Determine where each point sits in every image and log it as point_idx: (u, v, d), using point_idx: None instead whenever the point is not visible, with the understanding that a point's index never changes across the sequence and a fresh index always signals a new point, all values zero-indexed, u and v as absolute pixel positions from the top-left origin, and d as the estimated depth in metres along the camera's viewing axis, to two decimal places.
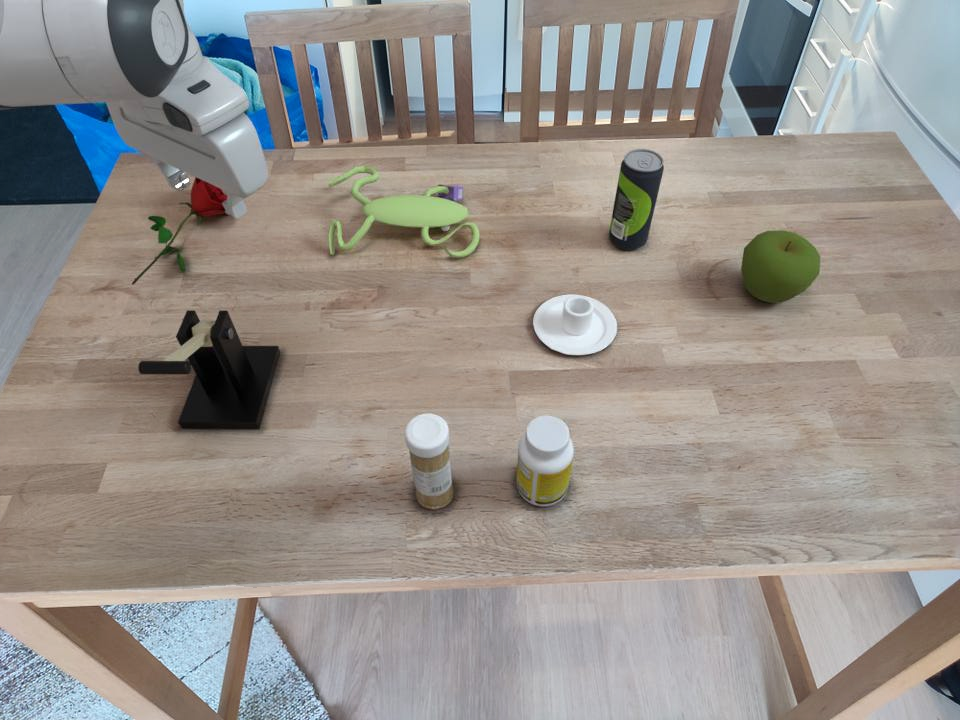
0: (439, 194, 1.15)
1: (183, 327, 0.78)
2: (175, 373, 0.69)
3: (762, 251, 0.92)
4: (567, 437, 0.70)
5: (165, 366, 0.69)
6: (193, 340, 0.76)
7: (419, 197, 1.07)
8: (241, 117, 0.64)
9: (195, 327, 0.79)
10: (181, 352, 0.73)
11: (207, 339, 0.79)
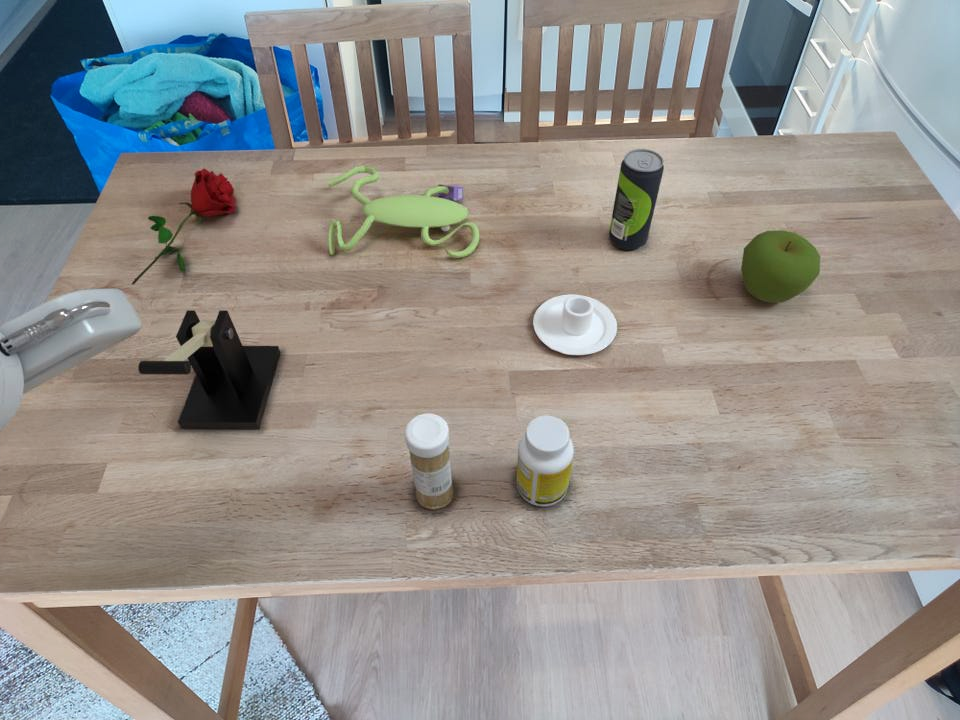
0: (439, 194, 1.15)
1: (183, 327, 0.78)
2: (175, 373, 0.69)
3: (762, 251, 0.92)
4: (567, 437, 0.70)
5: (165, 366, 0.69)
6: (193, 340, 0.76)
7: (419, 197, 1.07)
8: None
9: (195, 327, 0.79)
10: (181, 352, 0.73)
11: (207, 339, 0.79)
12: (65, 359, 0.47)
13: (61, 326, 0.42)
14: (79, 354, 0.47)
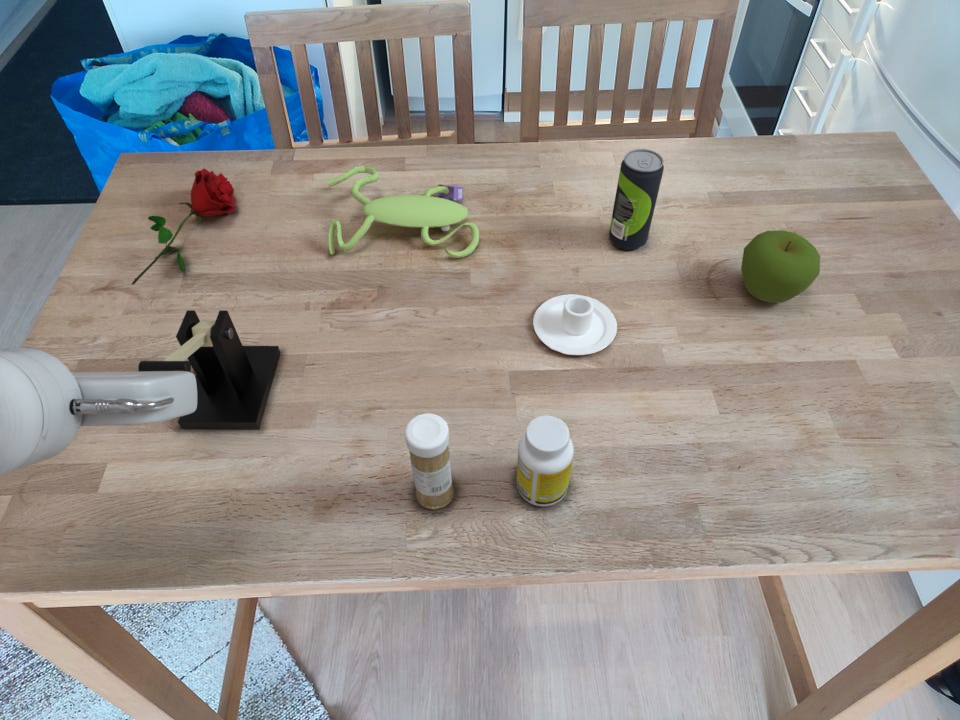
0: (439, 194, 1.15)
1: (183, 327, 0.78)
2: None
3: (762, 251, 0.92)
4: (567, 437, 0.70)
5: (165, 366, 0.69)
6: (193, 340, 0.76)
7: (419, 197, 1.07)
8: None
9: (195, 327, 0.79)
10: (181, 352, 0.73)
11: (207, 339, 0.79)
12: None
13: (124, 413, 0.49)
14: None
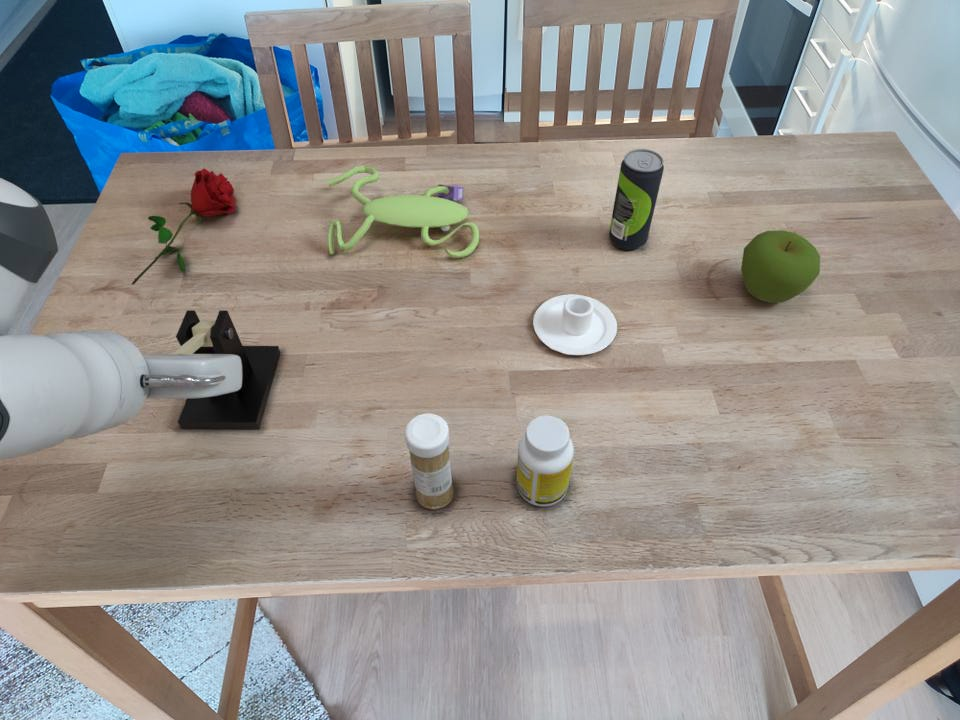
0: (439, 194, 1.15)
1: (183, 327, 0.78)
2: None
3: (762, 251, 0.92)
4: (567, 437, 0.70)
5: None
6: (193, 340, 0.76)
7: (419, 197, 1.07)
8: None
9: (195, 327, 0.79)
10: (181, 352, 0.73)
11: (207, 339, 0.79)
12: None
13: (185, 387, 0.57)
14: None
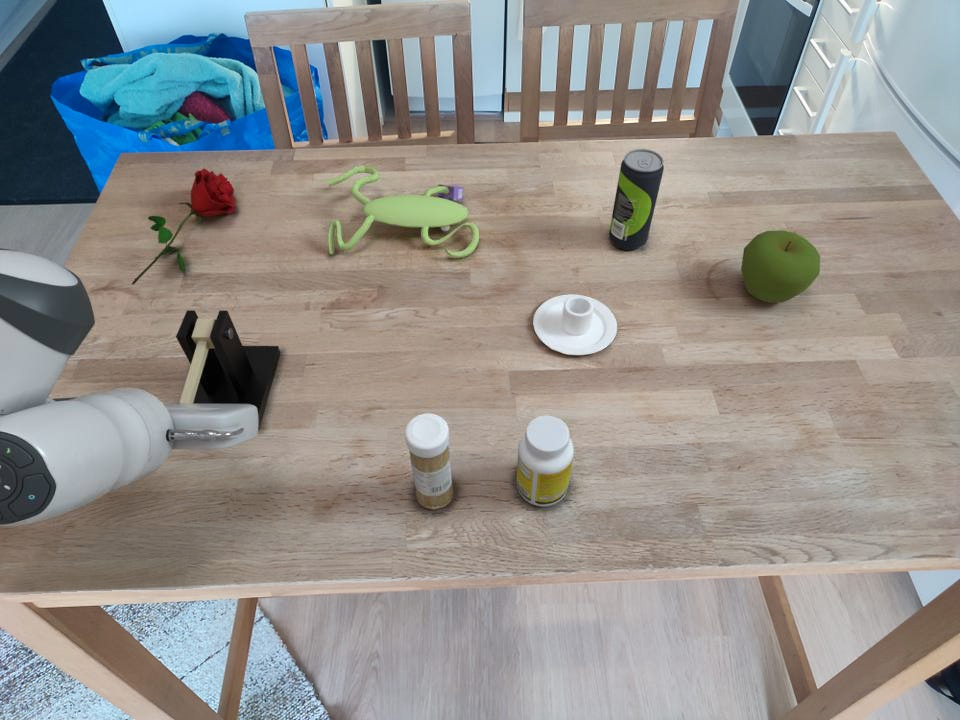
0: (439, 194, 1.15)
1: (183, 327, 0.78)
2: None
3: (762, 251, 0.92)
4: (567, 437, 0.70)
5: None
6: (198, 357, 0.78)
7: (419, 197, 1.07)
8: None
9: (195, 335, 0.78)
10: (192, 386, 0.75)
11: (209, 344, 0.79)
12: None
13: (208, 441, 0.62)
14: None
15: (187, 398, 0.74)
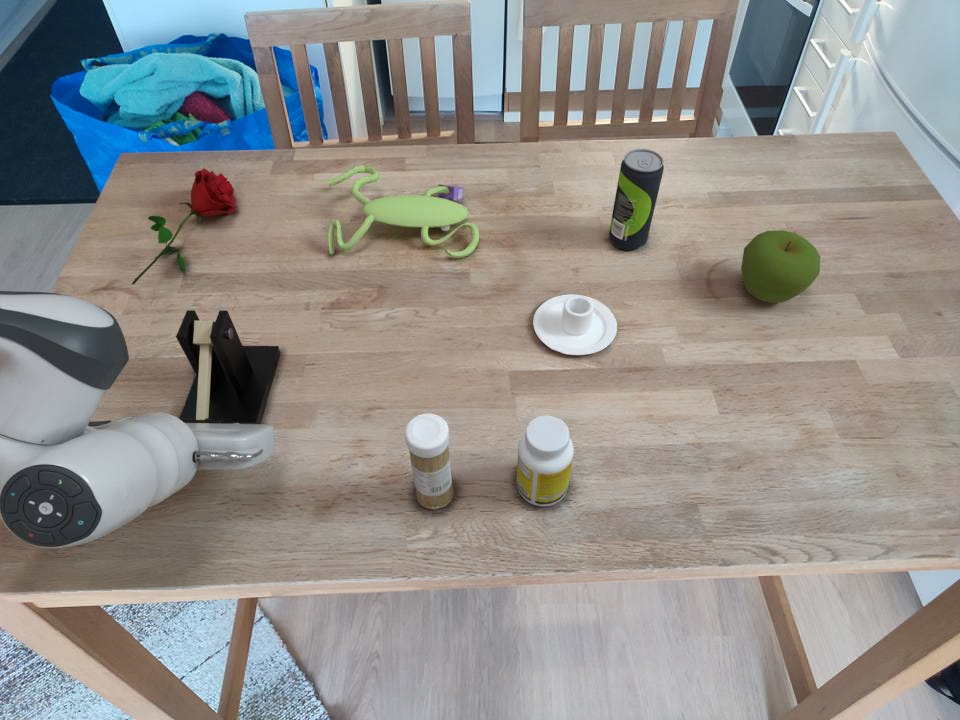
0: (439, 194, 1.15)
1: (183, 327, 0.78)
2: None
3: (762, 251, 0.92)
4: (567, 437, 0.70)
5: None
6: (204, 364, 0.79)
7: (419, 197, 1.07)
8: None
9: (196, 341, 0.79)
10: (204, 396, 0.79)
11: (212, 345, 0.80)
12: None
13: (231, 462, 0.67)
14: None
15: (202, 410, 0.78)
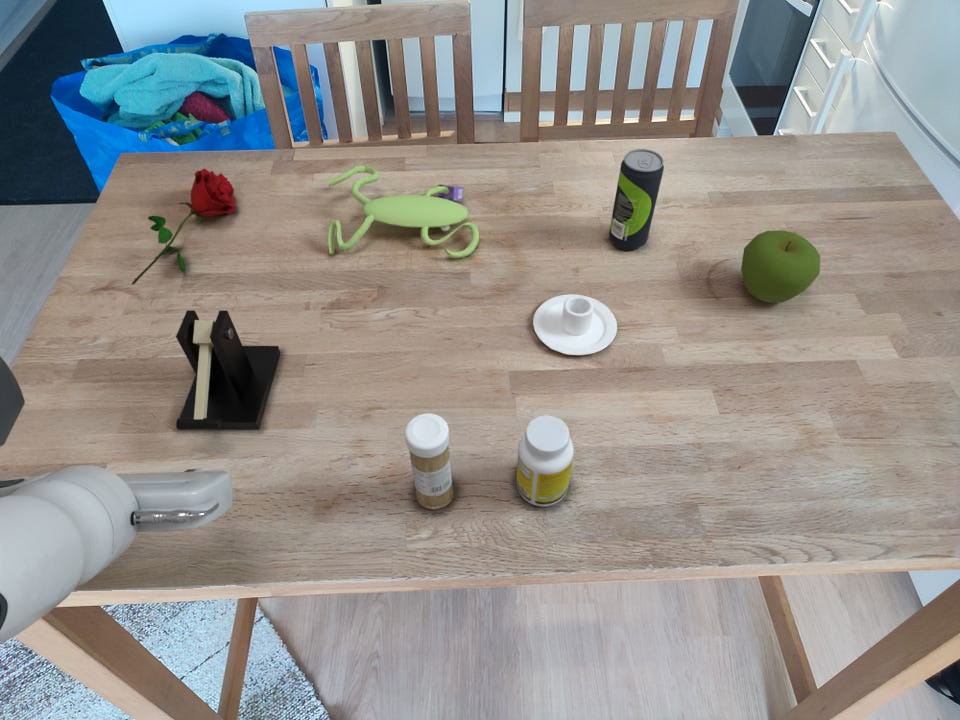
0: (439, 194, 1.15)
1: (183, 327, 0.78)
2: None
3: (762, 251, 0.92)
4: (567, 437, 0.70)
5: (201, 429, 0.78)
6: (203, 364, 0.79)
7: (419, 197, 1.07)
8: None
9: (196, 341, 0.79)
10: (203, 396, 0.78)
11: (211, 345, 0.80)
12: None
13: (179, 523, 0.55)
14: None
15: (201, 410, 0.78)
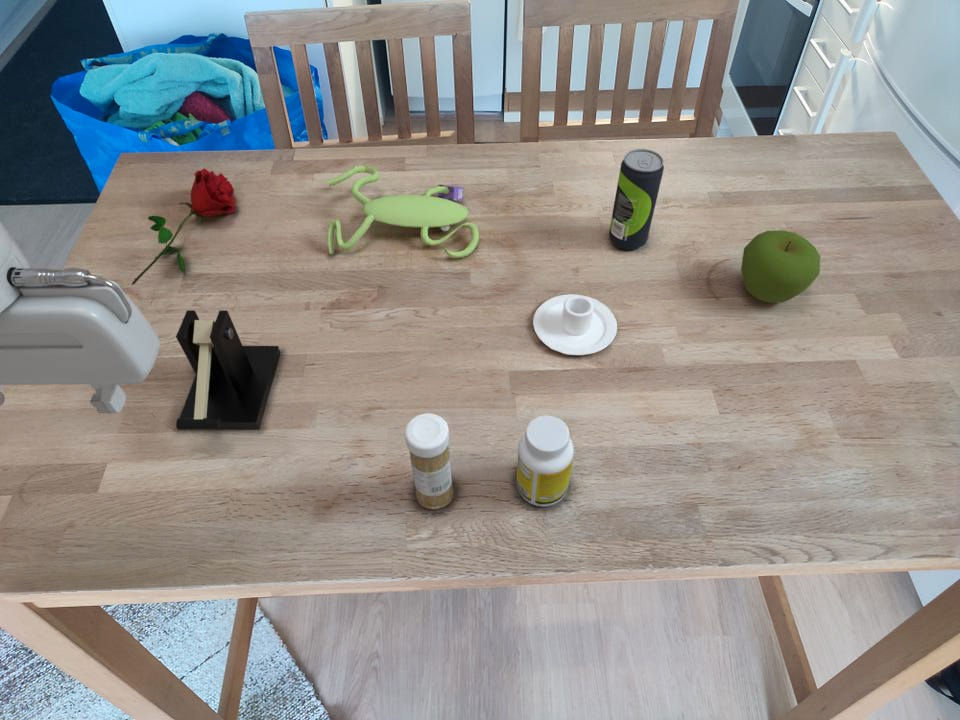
0: (439, 194, 1.15)
1: (183, 327, 0.78)
2: None
3: (762, 251, 0.92)
4: (567, 437, 0.70)
5: (201, 429, 0.78)
6: (203, 364, 0.79)
7: (419, 197, 1.07)
8: None
9: (196, 341, 0.79)
10: (203, 396, 0.78)
11: (211, 345, 0.80)
12: (54, 347, 0.43)
13: (70, 280, 0.40)
14: (68, 349, 0.43)
15: (201, 410, 0.78)
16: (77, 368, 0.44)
